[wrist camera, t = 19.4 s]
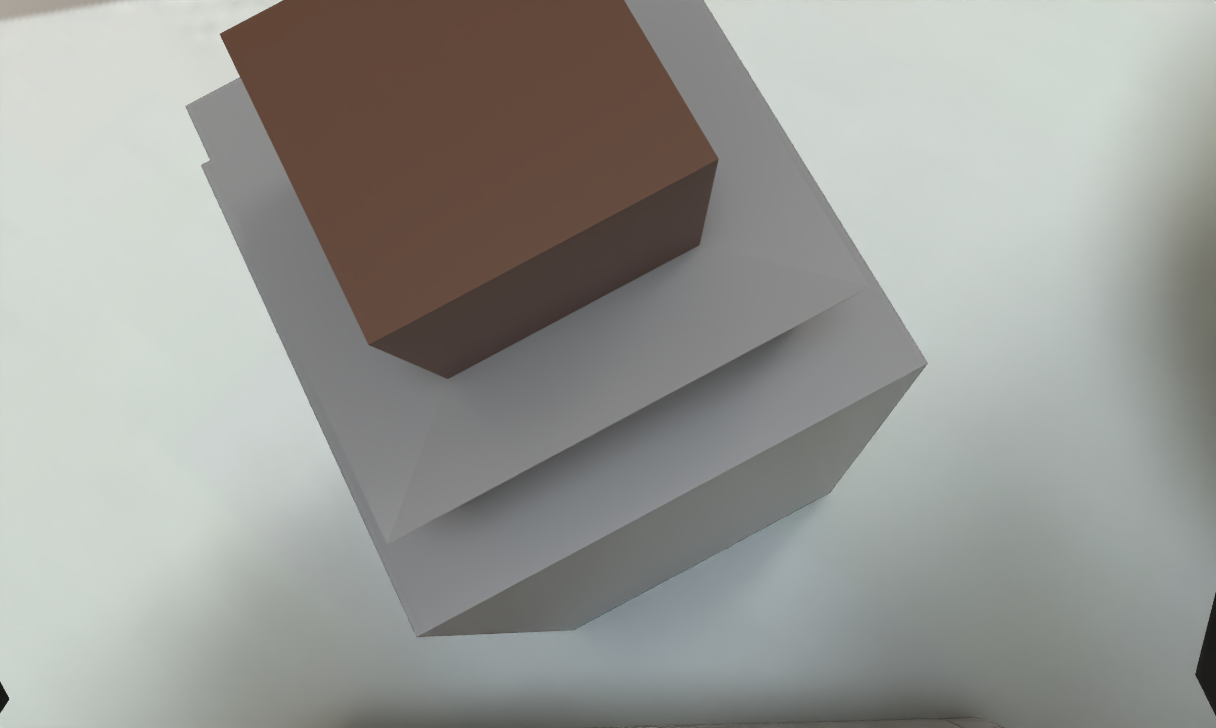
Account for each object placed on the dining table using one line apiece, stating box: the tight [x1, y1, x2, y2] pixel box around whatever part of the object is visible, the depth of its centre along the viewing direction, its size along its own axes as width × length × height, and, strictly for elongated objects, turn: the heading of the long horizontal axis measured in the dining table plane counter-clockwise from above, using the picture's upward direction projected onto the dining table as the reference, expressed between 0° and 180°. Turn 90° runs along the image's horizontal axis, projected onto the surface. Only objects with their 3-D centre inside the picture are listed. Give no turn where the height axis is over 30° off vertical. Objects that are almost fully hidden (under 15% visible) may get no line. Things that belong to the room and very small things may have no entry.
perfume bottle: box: [186, 0, 928, 637], centre depth 18 cm, size 7×7×18 cm
